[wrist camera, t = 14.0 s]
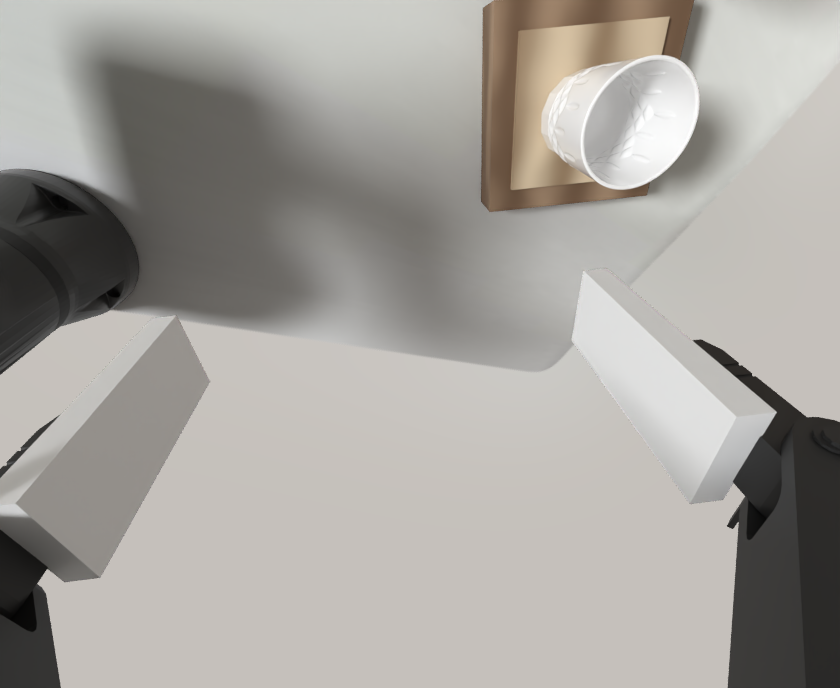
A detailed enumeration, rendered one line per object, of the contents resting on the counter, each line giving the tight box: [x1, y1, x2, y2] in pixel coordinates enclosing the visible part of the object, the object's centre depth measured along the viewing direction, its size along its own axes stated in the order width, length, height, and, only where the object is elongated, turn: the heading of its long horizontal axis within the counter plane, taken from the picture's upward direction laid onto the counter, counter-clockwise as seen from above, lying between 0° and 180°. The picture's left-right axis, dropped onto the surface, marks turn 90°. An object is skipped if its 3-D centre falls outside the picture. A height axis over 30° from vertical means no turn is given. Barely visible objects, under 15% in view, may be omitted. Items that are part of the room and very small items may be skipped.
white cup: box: [541, 55, 700, 190], centre depth 30 cm, size 8×8×10 cm
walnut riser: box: [481, 0, 694, 212], centre depth 36 cm, size 16×16×4 cm
